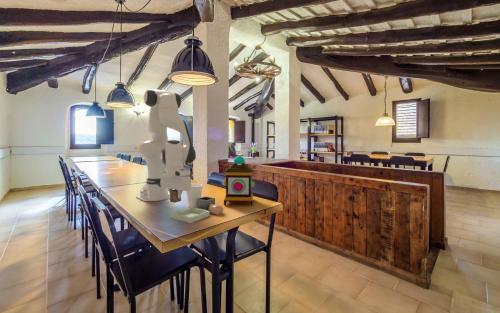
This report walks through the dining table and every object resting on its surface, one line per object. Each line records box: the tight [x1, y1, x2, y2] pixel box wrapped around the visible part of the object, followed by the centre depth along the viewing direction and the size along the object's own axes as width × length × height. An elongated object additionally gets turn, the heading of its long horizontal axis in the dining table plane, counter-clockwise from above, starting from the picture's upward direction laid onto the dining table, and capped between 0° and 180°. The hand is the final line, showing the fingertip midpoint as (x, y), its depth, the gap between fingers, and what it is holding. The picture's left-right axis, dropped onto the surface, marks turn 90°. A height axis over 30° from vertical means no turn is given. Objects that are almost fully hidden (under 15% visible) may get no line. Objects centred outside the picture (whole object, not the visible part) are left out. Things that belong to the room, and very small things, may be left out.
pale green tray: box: [171, 207, 211, 224], centre depth 121 cm, size 13×13×3 cm
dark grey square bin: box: [196, 196, 216, 211], centre depth 133 cm, size 7×7×7 cm
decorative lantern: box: [223, 155, 256, 207], centre depth 150 cm, size 20×20×30 cm
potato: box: [209, 204, 224, 216], centre depth 127 cm, size 6×5×5 cm
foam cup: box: [186, 183, 203, 208], centre depth 140 cm, size 10×9×13 cm
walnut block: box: [169, 189, 182, 204], centre depth 126 cm, size 4×4×6 cm
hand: (175, 197), depth 126 cm, fingers closed on walnut block, 4 cm apart
